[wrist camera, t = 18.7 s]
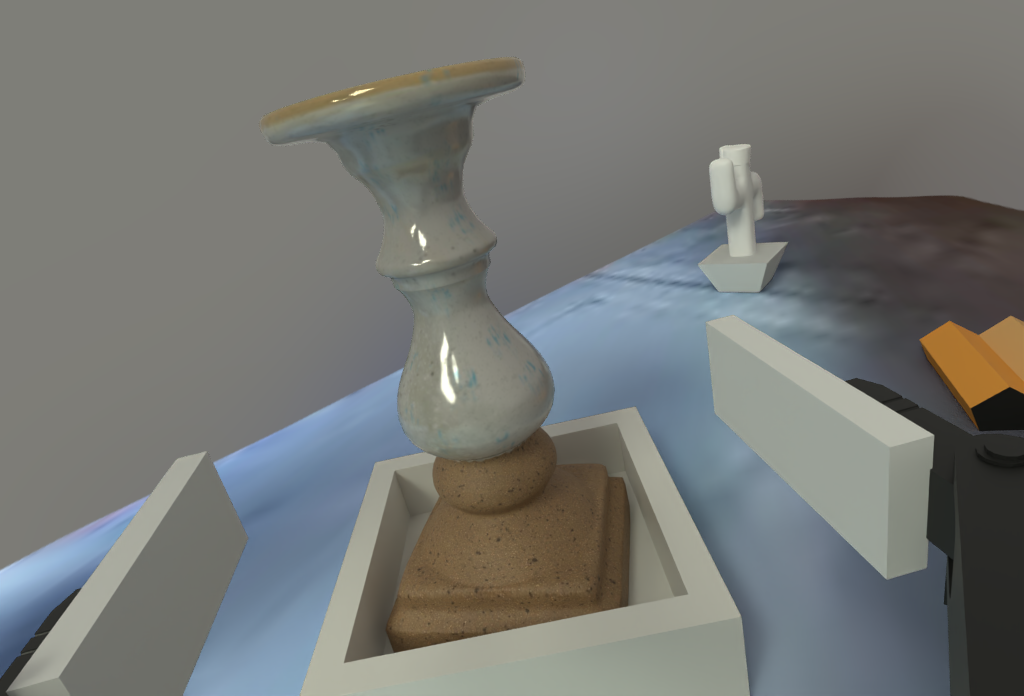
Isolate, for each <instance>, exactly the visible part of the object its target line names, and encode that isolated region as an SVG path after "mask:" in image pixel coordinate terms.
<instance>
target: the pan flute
mask: <svg viewBox="0 0 1024 696" xmlns="http://www.w3.org/2000/svg"><path fill="white" fill-rule="evenodd" d="M920 342H921V344H922V347H923V349H924V352H925V354H926V357H927V359H928V360H929V362H930V363H931V365H932V366H933V367H934V369H935V370H936V371H937V373H938V374H939V376H940V377H941V378H942V380H943V381H944V383H945V384H946V385H947V387H948V388H949V390H950V391H951V392H952V394H953V395H954V396H955V398H956V399H957V401H958V402H959V403H960V405H961V406H962V408H963V409H964V410H965V412H966V413H967V414H968V416H969V417H970V419H971V420H972V421H973V423H974V424H975V426H976V427H977V428H978V430H979V431H995V430H1024V322H1023V321H1021V320H1019V319H1017V318H1015V317H1013V316H1010V317H1008V318H1006V319H1005V320H1003V321H1001V322H1000V323H998V324H996V325H995V326H993V327H992V328H990V329H988V330H987V331H985V332H983V333H982V334H980V335H977V334H975V333H973V332H971V331H969V330H967V329H965V328H963V327H961V326H959V325H957V324H955V323H953V322H951V321H949V322H947V323H945V324H944V325H942V326H941V327H939V328H937V329H936V330H934V331H933V332H931V333H929V334H928V335H926V336H925V337H923V338H922V339H920Z"/></svg>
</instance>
